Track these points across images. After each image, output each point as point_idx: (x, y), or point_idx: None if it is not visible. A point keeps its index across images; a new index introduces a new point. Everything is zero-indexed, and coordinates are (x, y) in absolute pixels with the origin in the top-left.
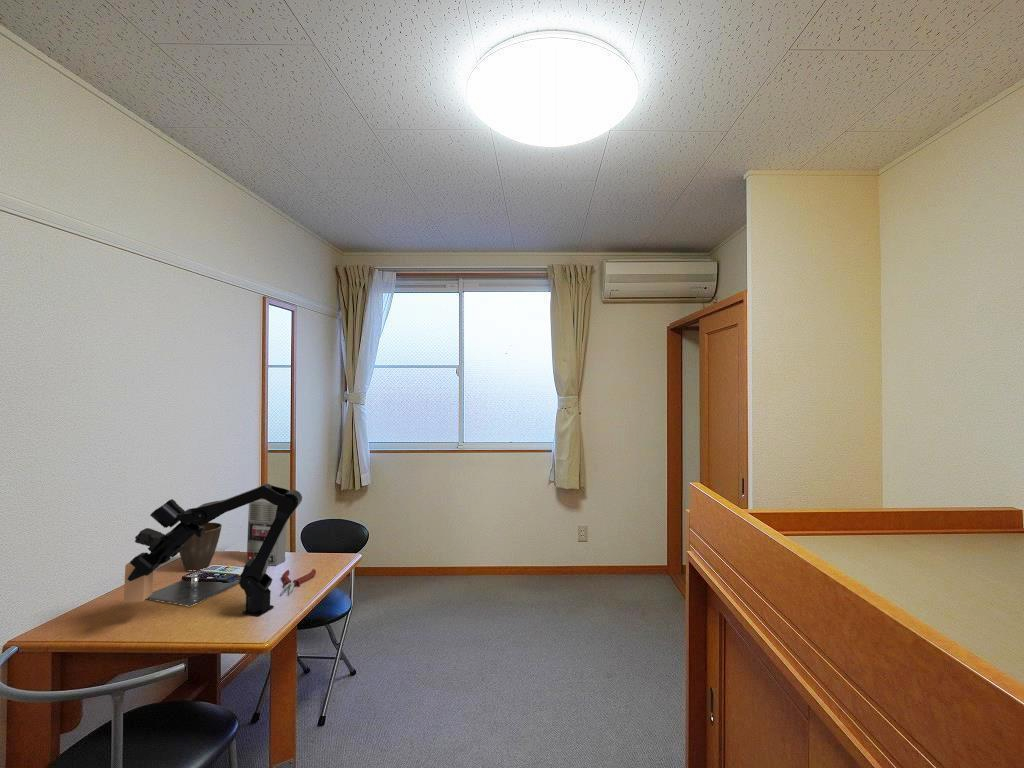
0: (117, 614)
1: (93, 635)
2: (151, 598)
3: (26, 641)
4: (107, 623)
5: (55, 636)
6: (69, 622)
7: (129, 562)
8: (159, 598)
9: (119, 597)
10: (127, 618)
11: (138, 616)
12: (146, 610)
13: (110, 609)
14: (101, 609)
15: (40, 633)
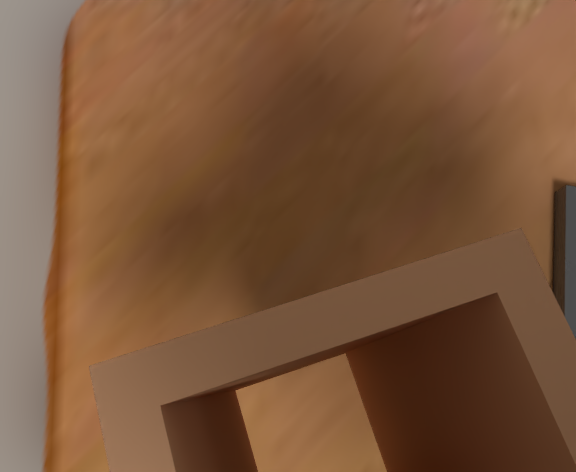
0: (361, 216)
1: (119, 304)
2: (561, 255)
3: (63, 45)
4: (257, 256)
5: (109, 124)
6: (250, 62)
7: (282, 307)
8: (570, 317)
9: (536, 56)
10: None
11: None
12: None
13: (407, 129)
14: (398, 86)
15: (138, 36)
